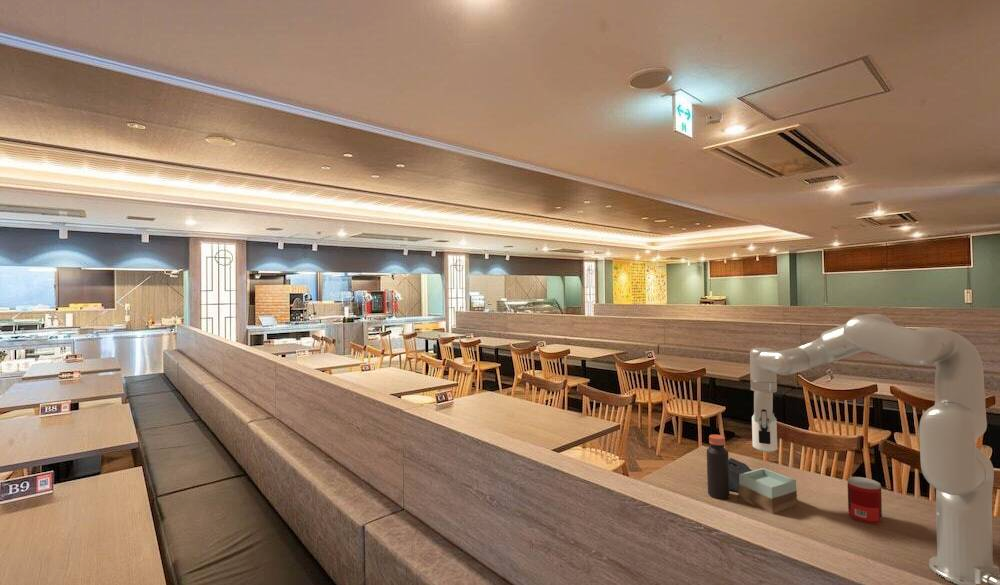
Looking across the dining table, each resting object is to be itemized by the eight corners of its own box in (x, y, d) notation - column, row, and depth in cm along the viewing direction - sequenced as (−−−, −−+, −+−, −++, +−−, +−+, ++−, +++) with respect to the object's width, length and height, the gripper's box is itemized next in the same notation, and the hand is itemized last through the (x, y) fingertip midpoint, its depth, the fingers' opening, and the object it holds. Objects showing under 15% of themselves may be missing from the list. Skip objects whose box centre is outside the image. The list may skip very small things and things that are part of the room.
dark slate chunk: (699, 485, 167) (699, 471, 167) (719, 466, 183) (718, 454, 183) (746, 496, 157) (745, 482, 157) (762, 475, 173) (761, 463, 173)
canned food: (888, 525, 135) (887, 487, 135) (857, 523, 137) (856, 486, 136) (872, 512, 142) (871, 477, 142) (843, 511, 144) (842, 475, 144)
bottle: (727, 491, 160) (725, 434, 160) (731, 500, 153) (729, 440, 153) (706, 489, 162) (704, 433, 162) (709, 498, 155) (707, 439, 155)
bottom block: (797, 506, 149) (796, 490, 149) (772, 515, 144) (772, 499, 144) (762, 491, 160) (761, 477, 160) (738, 499, 155) (737, 484, 155)
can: (756, 452, 149) (755, 415, 149) (749, 444, 156) (749, 409, 156) (780, 453, 148) (779, 416, 147) (773, 445, 154) (772, 410, 154)
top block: (796, 490, 149) (795, 480, 149) (771, 498, 144) (771, 487, 144) (763, 477, 159) (762, 467, 159) (739, 484, 155) (739, 474, 155)
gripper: (751, 379, 161) (752, 430, 161) (749, 390, 146) (750, 446, 146) (776, 381, 157) (777, 433, 157) (777, 392, 142) (778, 449, 142)
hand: (764, 439), depth 152 cm, fingers closed on can, 7 cm apart
